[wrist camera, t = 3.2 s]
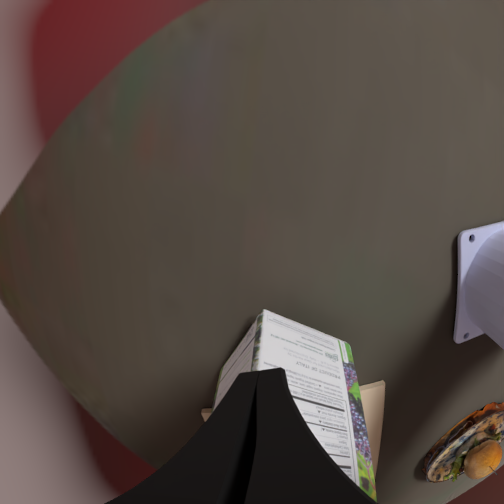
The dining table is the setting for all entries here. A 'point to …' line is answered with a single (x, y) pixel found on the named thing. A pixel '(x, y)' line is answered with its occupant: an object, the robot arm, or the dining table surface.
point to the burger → (468, 447)
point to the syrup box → (310, 387)
